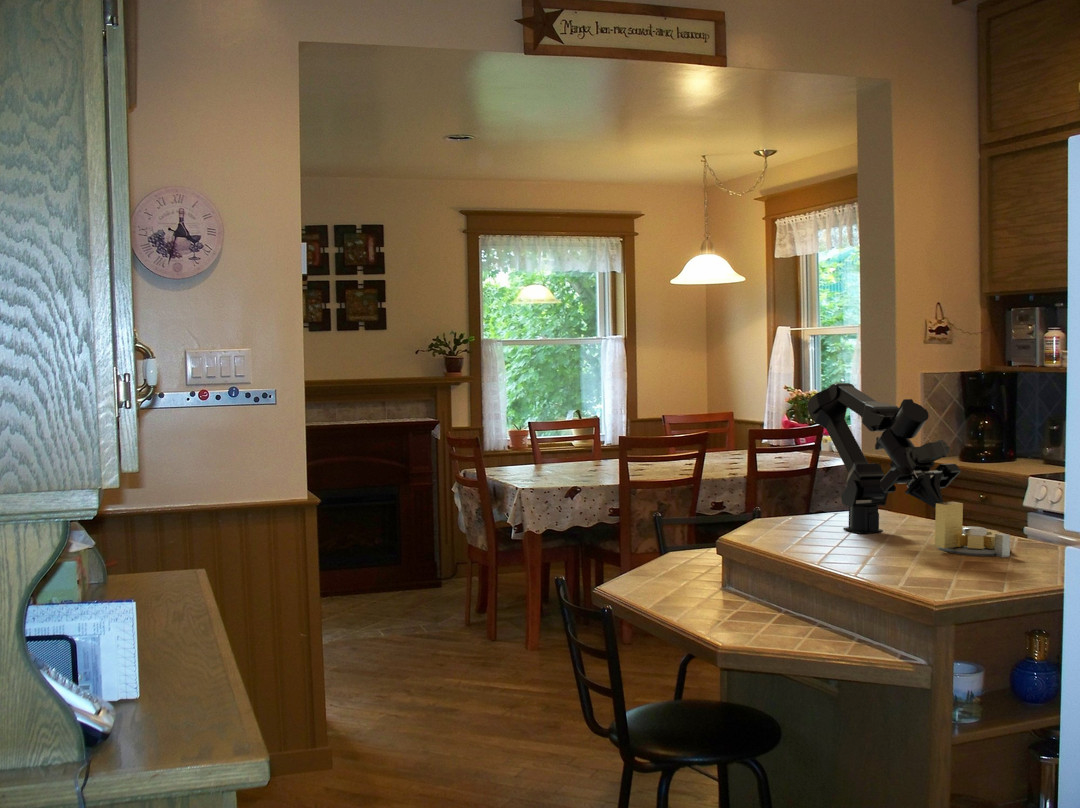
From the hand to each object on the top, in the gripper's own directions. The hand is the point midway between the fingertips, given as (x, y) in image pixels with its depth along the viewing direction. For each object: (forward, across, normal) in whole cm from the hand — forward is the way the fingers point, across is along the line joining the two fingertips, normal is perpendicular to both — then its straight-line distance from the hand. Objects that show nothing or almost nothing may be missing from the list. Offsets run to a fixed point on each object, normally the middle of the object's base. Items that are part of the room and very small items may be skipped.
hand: (942, 509), depth 215 cm
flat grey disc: (+8, +7, +5) cm, 12 cm away
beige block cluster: (+7, +5, +4) cm, 9 cm away
